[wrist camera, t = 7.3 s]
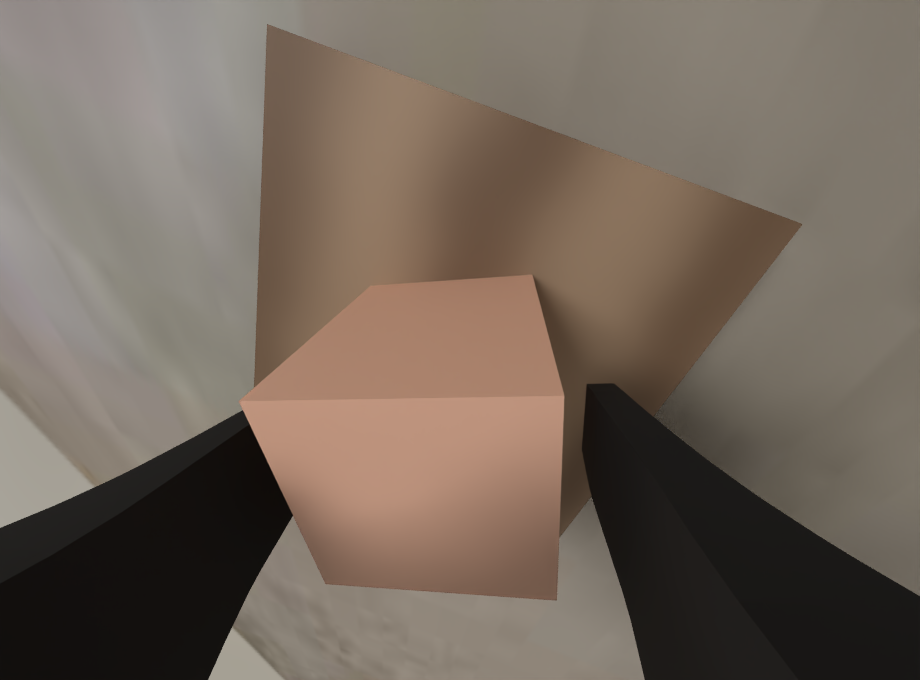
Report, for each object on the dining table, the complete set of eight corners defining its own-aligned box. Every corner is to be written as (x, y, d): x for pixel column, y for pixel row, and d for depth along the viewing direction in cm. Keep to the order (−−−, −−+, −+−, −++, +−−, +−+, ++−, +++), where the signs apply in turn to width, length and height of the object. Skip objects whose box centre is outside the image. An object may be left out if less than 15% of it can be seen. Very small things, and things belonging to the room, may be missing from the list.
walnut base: (732, 211, 11) (802, 224, 9) (551, 482, 18) (559, 537, 15) (326, 60, 11) (267, 24, 8) (291, 396, 17) (252, 438, 14)
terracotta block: (532, 274, 10) (564, 395, 5) (533, 411, 12) (557, 600, 7) (370, 285, 11) (238, 401, 5) (399, 412, 13) (325, 584, 8)
